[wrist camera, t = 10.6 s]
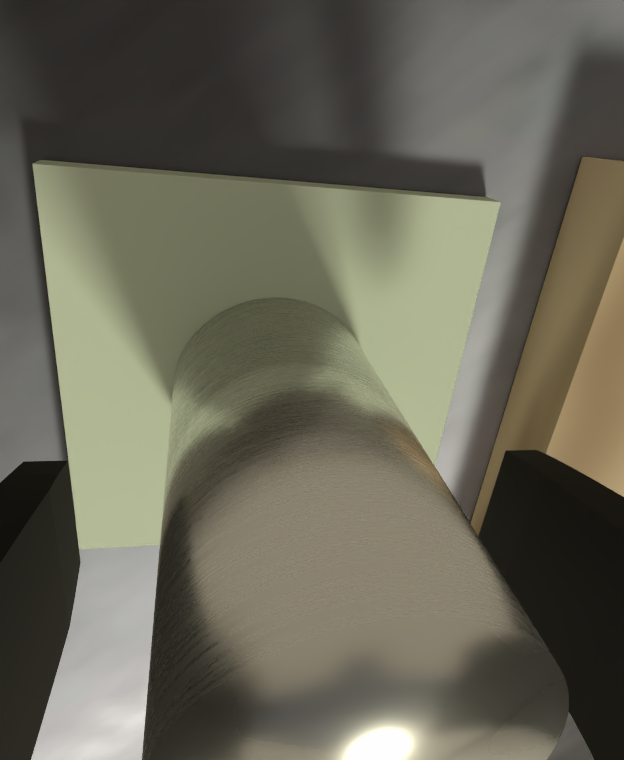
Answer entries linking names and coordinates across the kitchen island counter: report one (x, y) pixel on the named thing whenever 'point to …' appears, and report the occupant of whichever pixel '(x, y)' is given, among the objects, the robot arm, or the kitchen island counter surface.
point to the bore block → (575, 344)
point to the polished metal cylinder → (325, 570)
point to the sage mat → (235, 303)
